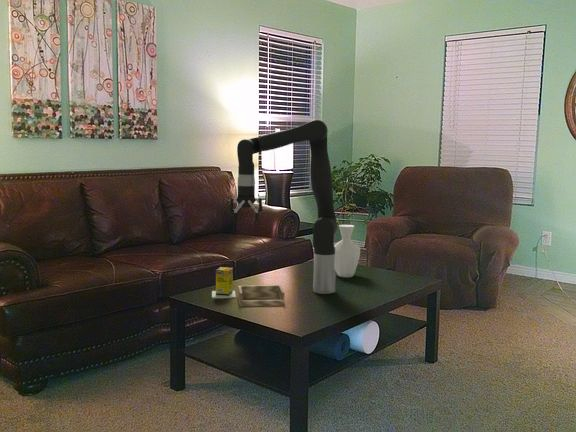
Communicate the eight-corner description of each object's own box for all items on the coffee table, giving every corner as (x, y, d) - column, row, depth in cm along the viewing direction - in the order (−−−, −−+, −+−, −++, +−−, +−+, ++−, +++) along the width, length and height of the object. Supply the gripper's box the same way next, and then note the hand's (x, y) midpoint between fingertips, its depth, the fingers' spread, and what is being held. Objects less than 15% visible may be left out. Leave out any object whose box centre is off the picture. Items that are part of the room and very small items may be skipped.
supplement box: (229, 296, 239) (229, 270, 238) (215, 295, 240) (215, 269, 239) (232, 292, 245) (233, 267, 244) (219, 291, 246) (219, 266, 245)
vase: (361, 279, 276) (362, 228, 273) (331, 278, 277) (333, 227, 273) (357, 272, 291) (359, 224, 287) (329, 271, 291) (331, 223, 288)
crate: (280, 296, 242) (280, 285, 242) (284, 305, 229) (284, 293, 229) (238, 297, 240) (238, 285, 239) (239, 306, 227) (240, 293, 226)
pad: (234, 291, 248) (234, 290, 248) (236, 298, 239) (236, 296, 239) (211, 292, 247) (211, 290, 247) (211, 298, 237) (211, 297, 237)
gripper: (261, 184, 256) (261, 220, 258) (229, 184, 254) (229, 220, 256) (263, 185, 248) (262, 222, 250) (230, 185, 246) (230, 222, 248)
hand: (245, 221), depth 253 cm, fingers open, 8 cm apart
